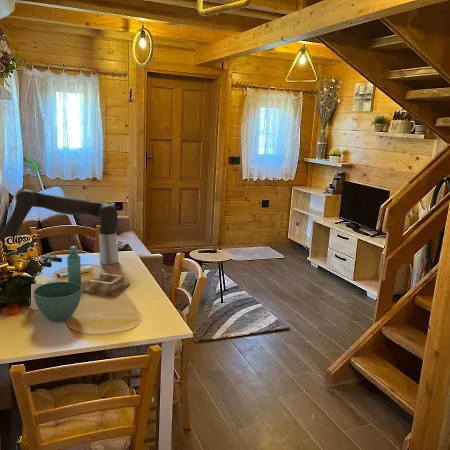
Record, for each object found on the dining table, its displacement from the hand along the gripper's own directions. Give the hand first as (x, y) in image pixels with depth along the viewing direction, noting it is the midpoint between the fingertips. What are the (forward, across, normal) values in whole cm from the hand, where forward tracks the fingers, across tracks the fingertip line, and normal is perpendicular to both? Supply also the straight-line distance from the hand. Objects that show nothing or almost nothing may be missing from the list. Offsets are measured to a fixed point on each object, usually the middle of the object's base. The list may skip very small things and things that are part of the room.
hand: (56, 262), depth 223 cm
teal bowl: (+24, -35, +10) cm, 44 cm away
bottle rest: (+27, 0, +10) cm, 29 cm away
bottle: (+10, 0, +10) cm, 14 cm away
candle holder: (+11, -28, +10) cm, 32 cm away
